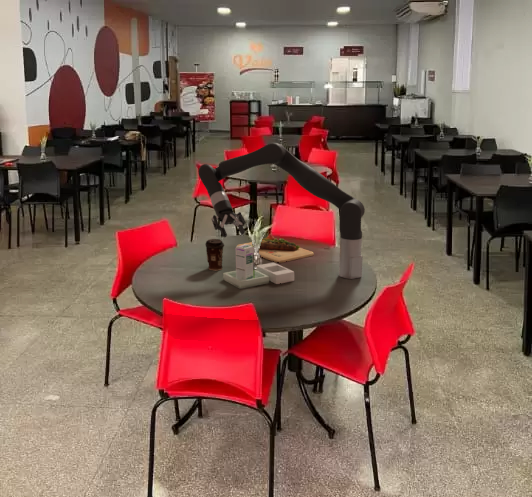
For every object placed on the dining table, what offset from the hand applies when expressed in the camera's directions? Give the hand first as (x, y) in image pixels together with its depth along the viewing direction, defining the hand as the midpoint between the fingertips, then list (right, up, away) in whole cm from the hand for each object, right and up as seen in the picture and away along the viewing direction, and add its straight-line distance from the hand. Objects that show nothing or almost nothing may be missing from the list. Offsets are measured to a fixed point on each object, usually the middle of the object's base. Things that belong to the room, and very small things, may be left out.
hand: (234, 235), depth 277 cm
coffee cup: (-10, -15, +15) cm, 23 cm away
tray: (+5, -20, -2) cm, 20 cm away
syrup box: (+5, -19, -3) cm, 20 cm away
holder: (+17, -18, +3) cm, 25 cm away
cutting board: (+18, -8, +44) cm, 48 cm away
